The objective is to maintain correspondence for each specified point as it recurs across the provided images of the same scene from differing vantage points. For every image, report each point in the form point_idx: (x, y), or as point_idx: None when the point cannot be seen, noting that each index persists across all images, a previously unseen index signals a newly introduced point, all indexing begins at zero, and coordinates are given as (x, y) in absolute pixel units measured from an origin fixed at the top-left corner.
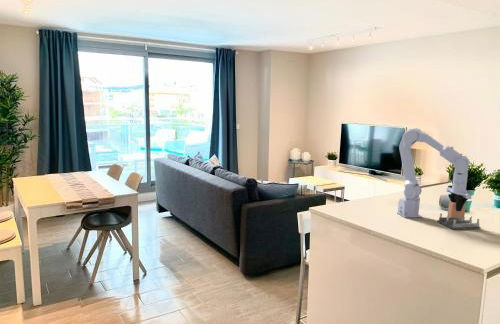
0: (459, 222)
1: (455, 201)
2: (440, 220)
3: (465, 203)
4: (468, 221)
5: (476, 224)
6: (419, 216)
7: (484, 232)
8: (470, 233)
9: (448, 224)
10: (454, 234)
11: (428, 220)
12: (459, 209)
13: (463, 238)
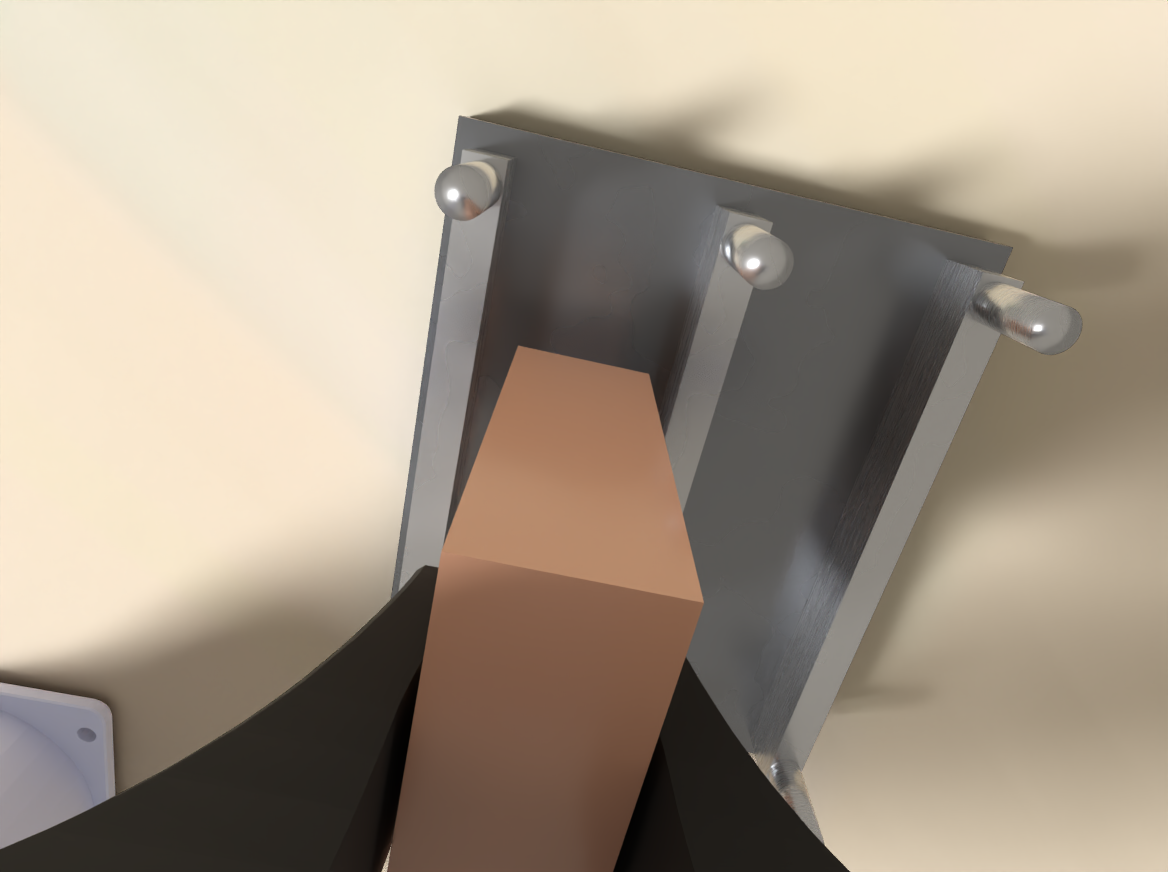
0: None
1: (367, 847)
2: None
3: (695, 620)
4: (740, 313)
5: (978, 352)
6: (99, 750)
7: (1135, 353)
8: (1017, 628)
9: None
10: (918, 846)
11: None
12: None
13: (1074, 861)
